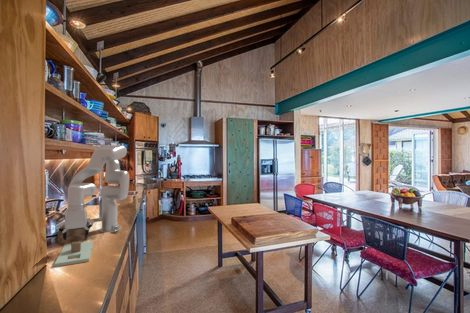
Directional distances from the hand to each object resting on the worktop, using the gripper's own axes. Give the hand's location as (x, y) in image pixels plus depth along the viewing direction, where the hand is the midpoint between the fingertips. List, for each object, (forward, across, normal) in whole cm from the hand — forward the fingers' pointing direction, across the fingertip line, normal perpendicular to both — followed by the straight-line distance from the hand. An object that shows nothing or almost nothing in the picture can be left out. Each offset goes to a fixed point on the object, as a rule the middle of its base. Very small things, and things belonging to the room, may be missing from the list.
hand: (76, 238), depth 129 cm
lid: (+7, 0, +5) cm, 9 cm away
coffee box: (+9, -12, -65) cm, 67 cm away
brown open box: (+7, +3, -26) cm, 27 cm away
